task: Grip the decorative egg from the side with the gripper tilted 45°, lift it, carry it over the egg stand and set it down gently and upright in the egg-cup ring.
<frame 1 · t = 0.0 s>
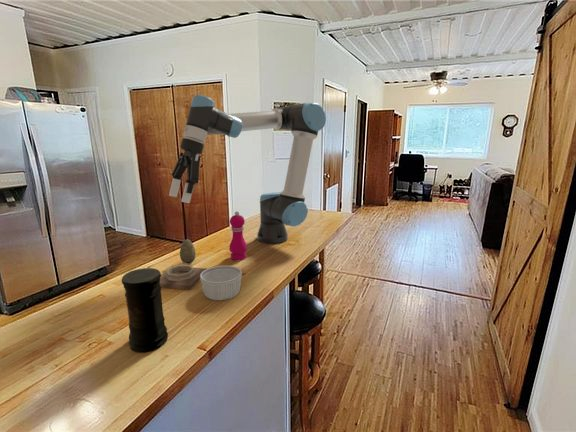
hand: (178, 199, 111), 28 cm above the counter, tool tilted 20°, fingers open, 13 cm apart
pepper mill: (238, 258, 132), on the counter
container: (149, 341, 78), on the counter
ramekin: (222, 293, 103), on the counter
decorative egg: (188, 263, 126), on the counter
egg stand: (181, 279, 112), on the counter
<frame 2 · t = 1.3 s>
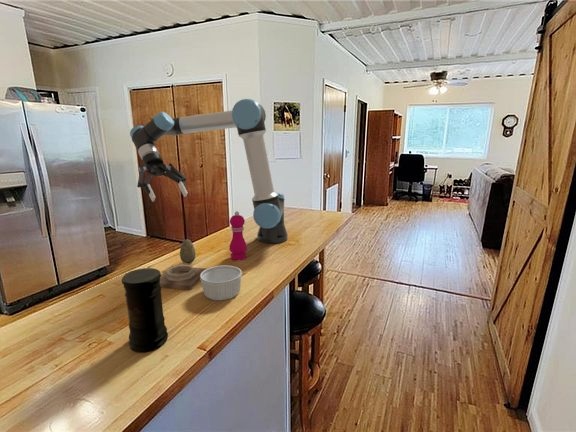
hand: (170, 197, 127), 25 cm above the counter, tool tilted 45°, fingers open, 13 cm apart
nothing on the counter moved.
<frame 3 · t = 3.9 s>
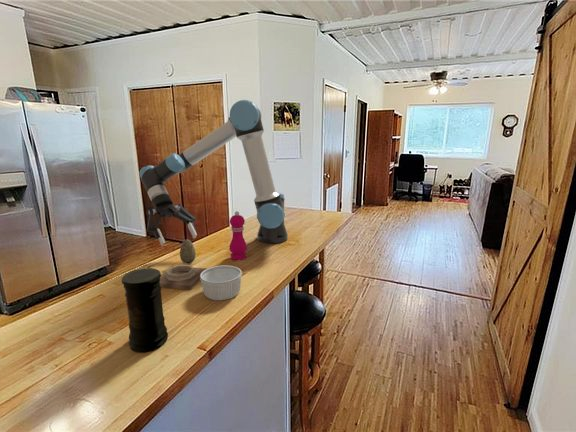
hand: (180, 240, 126), 9 cm above the counter, tool tilted 45°, fingers open, 13 cm apart
nothing on the counter moved.
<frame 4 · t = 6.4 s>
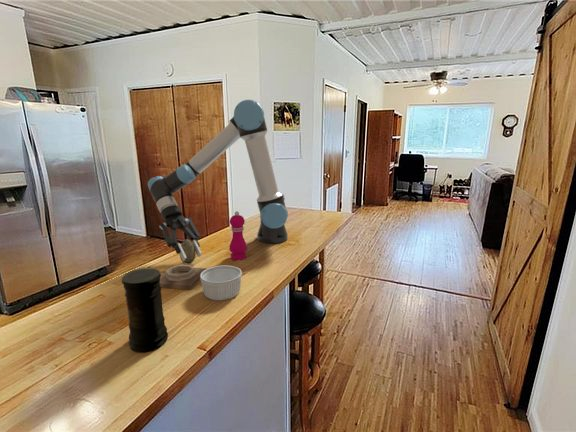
hand: (192, 257, 123), 4 cm above the counter, tool tilted 45°, fingers closed on decorative egg, 6 cm apart
decorative egg: (188, 263, 126), on the counter, touching gripper
everything else where it was.
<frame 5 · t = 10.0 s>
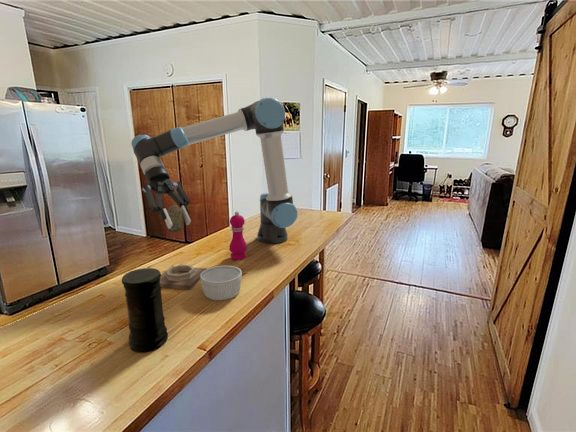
hand: (180, 224, 106), 20 cm above the counter, tool tilted 45°, fingers closed on decorative egg, 6 cm apart
decorative egg: (175, 232, 110), point 17 cm above the counter, touching gripper
everything else where it was.
when the fingers open (7 cm above the counter, at t = 13.4 s): decorative egg drops 2 cm, resting on egg stand.
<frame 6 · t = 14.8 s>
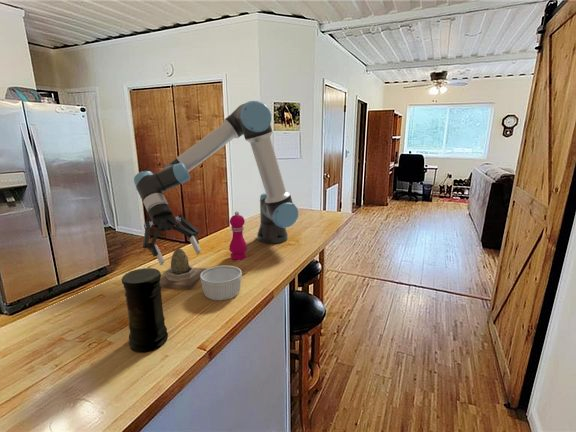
hand: (181, 257, 109), 9 cm above the counter, tool tilted 45°, fingers open, 13 cm apart
decorative egg: (180, 275, 112), point 1 cm above the counter, touching egg stand
everything else where it was.
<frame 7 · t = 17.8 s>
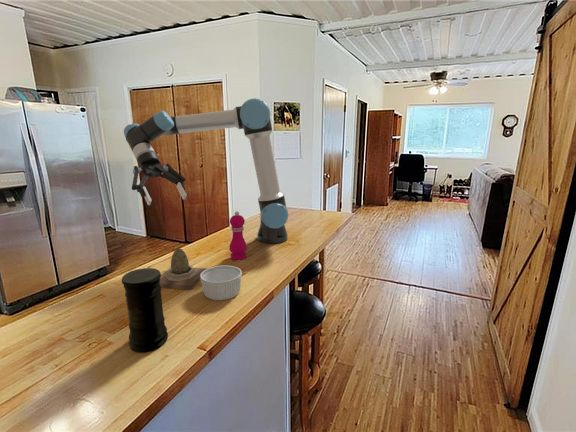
hand: (168, 200, 117), 26 cm above the counter, tool tilted 45°, fingers open, 13 cm apart
nothing on the counter moved.
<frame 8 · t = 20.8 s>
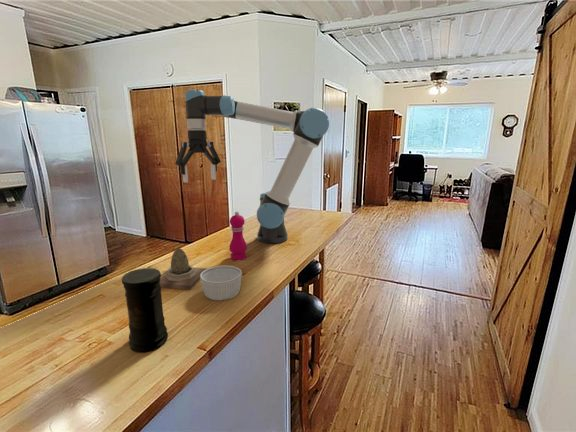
hand: (200, 180, 136), 31 cm above the counter, tool pointing down, fingers open, 13 cm apart
nothing on the counter moved.
at the end: decorative egg 0.1 cm off-centre on the egg stand, point 1.3 cm above the egg stand's base; decorative egg tilted 0°; the gripper is holding nothing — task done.
